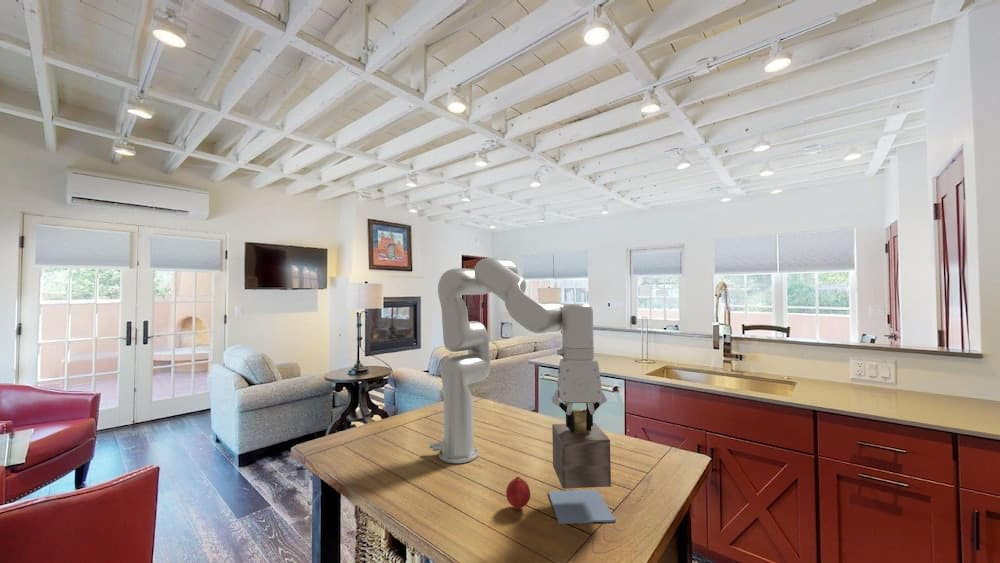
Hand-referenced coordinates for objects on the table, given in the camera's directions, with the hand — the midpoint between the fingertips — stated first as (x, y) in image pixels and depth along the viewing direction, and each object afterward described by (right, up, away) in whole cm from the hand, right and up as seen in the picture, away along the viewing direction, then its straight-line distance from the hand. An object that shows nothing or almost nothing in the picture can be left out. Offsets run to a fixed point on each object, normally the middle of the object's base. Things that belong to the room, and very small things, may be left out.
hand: (579, 428), depth 91 cm
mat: (0, -19, 0) cm, 19 cm away
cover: (0, -11, 0) cm, 11 cm away
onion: (-15, -19, -1) cm, 24 cm away
